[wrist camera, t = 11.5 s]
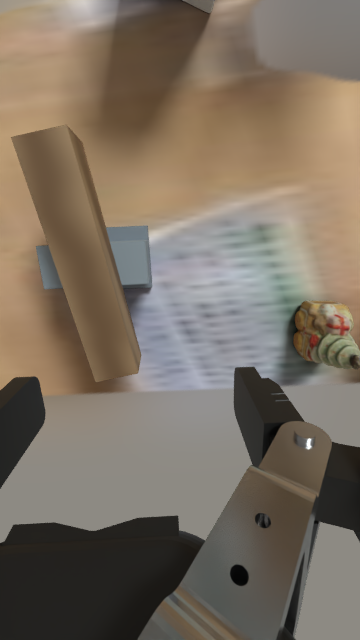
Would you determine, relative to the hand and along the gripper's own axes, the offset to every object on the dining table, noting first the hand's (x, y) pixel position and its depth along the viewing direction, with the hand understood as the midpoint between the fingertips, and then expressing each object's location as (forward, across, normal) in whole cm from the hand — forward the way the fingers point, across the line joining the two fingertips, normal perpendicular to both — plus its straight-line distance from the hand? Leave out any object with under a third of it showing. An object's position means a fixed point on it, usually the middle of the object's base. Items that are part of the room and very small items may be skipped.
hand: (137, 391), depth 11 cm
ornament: (+25, -20, +6) cm, 33 cm away
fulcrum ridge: (+24, +6, -4) cm, 25 cm away
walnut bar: (+17, +6, -4) cm, 18 cm away
